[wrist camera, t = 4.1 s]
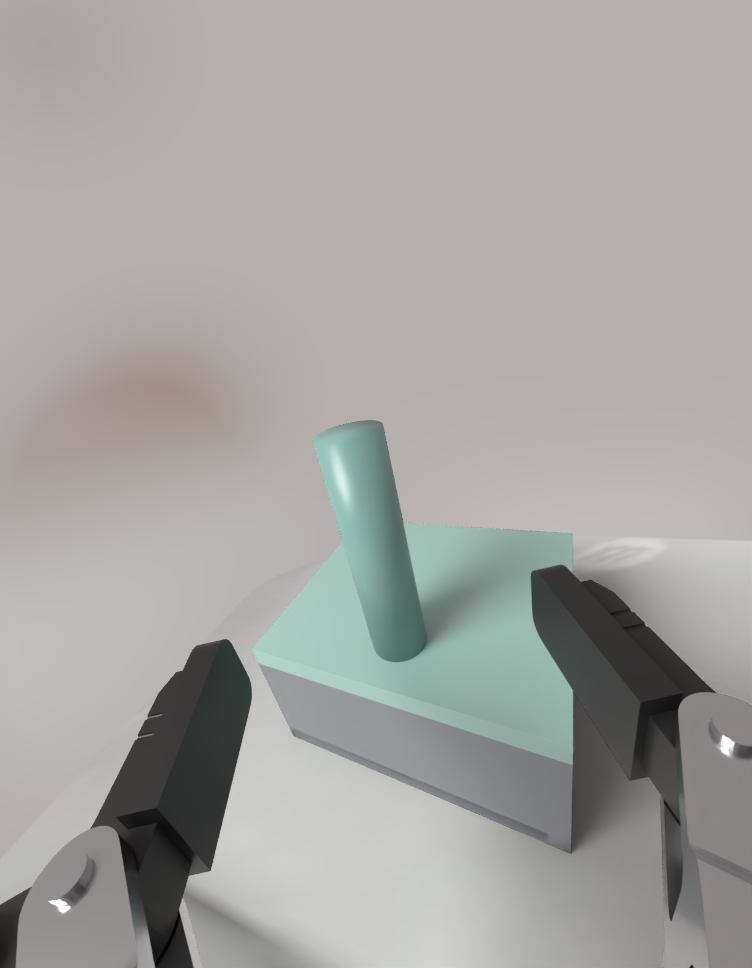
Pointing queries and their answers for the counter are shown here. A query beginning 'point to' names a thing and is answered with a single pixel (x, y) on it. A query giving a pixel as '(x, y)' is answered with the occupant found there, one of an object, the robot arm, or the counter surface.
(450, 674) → the lid
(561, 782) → the tub
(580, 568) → the counter surface
